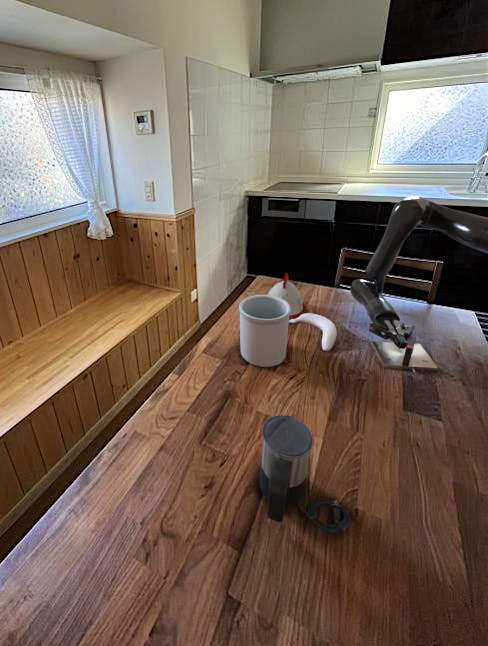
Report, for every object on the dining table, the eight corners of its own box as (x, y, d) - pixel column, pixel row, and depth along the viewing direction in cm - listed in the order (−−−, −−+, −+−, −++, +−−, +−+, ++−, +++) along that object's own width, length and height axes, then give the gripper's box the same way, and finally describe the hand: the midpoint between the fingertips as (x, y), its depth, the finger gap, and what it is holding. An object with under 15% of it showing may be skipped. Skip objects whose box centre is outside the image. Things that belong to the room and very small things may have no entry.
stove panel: (418, 349, 104) (420, 343, 103) (441, 380, 92) (443, 374, 91) (370, 346, 107) (371, 340, 106) (385, 376, 94) (387, 370, 93)
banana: (341, 354, 104) (292, 351, 106) (329, 323, 121) (287, 320, 124) (343, 341, 102) (293, 338, 104) (330, 311, 119) (288, 309, 122)
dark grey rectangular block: (404, 351, 100) (409, 334, 98) (411, 353, 99) (416, 336, 97) (401, 364, 95) (406, 347, 93) (408, 367, 94) (413, 349, 92)
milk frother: (256, 463, 73) (259, 413, 66) (332, 468, 71) (342, 417, 65) (262, 537, 60) (267, 484, 54) (355, 546, 58) (371, 492, 52)
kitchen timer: (261, 315, 126) (263, 279, 120) (268, 298, 137) (270, 264, 131) (300, 322, 121) (304, 285, 115) (304, 303, 132) (308, 269, 126)
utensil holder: (228, 355, 106) (228, 307, 99) (256, 334, 115) (258, 289, 108) (268, 377, 96) (271, 326, 89) (295, 353, 105) (300, 304, 98)
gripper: (361, 302, 109) (380, 333, 94) (406, 304, 107) (432, 336, 92) (358, 322, 112) (375, 355, 97) (401, 324, 110) (425, 358, 95)
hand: (403, 346), depth 94 cm, fingers closed
